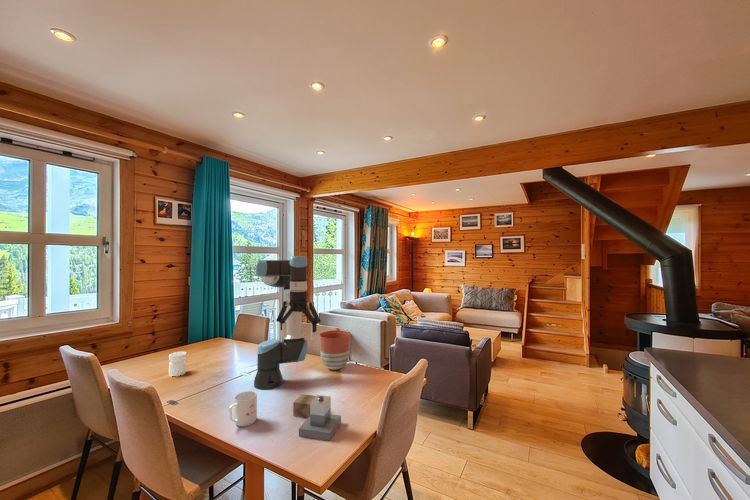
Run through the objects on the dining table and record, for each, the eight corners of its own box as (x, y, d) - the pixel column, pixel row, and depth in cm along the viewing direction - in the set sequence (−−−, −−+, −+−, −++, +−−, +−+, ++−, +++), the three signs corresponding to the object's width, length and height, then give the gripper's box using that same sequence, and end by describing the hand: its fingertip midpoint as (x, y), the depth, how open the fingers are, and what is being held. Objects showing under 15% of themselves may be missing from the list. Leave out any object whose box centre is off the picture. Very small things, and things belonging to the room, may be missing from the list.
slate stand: (298, 436, 120) (298, 428, 120) (312, 419, 132) (312, 412, 132) (329, 440, 117) (329, 432, 117) (341, 422, 129) (341, 415, 130)
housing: (310, 425, 122) (310, 400, 122) (317, 416, 129) (317, 393, 129) (324, 427, 121) (324, 402, 121) (330, 418, 128) (330, 394, 128)
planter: (356, 366, 195) (356, 332, 195) (337, 376, 179) (337, 340, 179) (333, 360, 205) (333, 328, 206) (312, 370, 189) (312, 335, 189)
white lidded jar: (169, 378, 177) (170, 357, 177) (167, 373, 183) (167, 353, 184) (187, 374, 183) (187, 354, 183) (184, 370, 189) (184, 350, 189)
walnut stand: (293, 415, 135) (293, 402, 135) (301, 407, 143) (301, 394, 143) (309, 418, 133) (310, 404, 133) (317, 408, 141) (317, 395, 141)
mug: (248, 414, 136) (248, 389, 136) (261, 420, 132) (261, 394, 132) (222, 427, 126) (223, 400, 126) (236, 433, 121) (236, 405, 122)
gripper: (268, 290, 134) (268, 339, 134) (321, 292, 129) (321, 342, 129) (277, 288, 142) (277, 334, 142) (328, 290, 136) (327, 337, 136)
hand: (298, 338), depth 135 cm, fingers open, 13 cm apart
